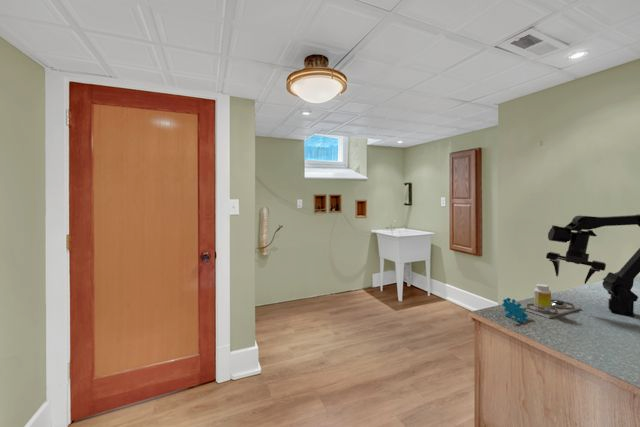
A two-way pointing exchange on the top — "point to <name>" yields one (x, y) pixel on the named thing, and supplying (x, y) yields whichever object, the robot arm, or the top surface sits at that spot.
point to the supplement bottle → (542, 297)
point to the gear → (514, 310)
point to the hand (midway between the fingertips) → (570, 279)
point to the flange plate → (553, 308)
